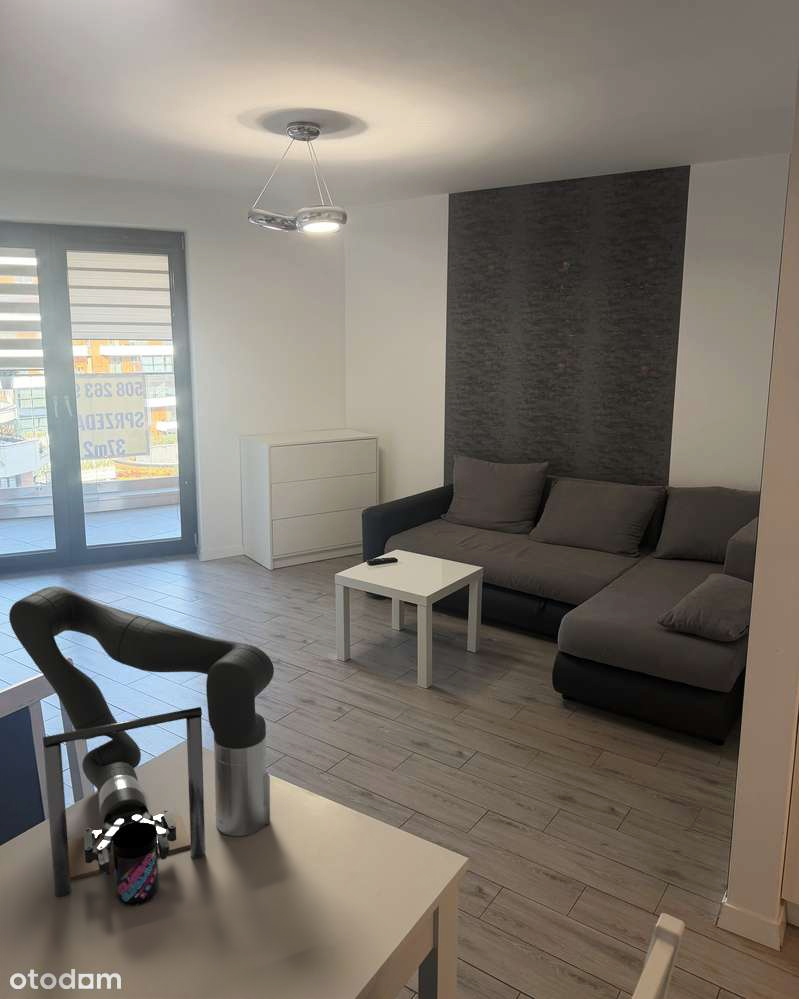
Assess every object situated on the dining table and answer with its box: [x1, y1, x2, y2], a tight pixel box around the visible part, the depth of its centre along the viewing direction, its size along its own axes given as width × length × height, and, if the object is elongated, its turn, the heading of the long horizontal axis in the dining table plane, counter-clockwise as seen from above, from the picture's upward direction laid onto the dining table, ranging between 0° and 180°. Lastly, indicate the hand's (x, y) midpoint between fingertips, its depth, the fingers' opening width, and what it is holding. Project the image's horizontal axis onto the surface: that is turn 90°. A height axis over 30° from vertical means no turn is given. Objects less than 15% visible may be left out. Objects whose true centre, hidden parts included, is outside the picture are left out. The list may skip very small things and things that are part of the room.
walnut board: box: [68, 812, 191, 881], centre depth 132 cm, size 20×10×1 cm, turn 117°
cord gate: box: [42, 706, 206, 899], centre depth 122 cm, size 24×2×27 cm, turn 117°
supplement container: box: [112, 822, 160, 907], centre depth 120 cm, size 7×7×10 cm
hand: (136, 861), depth 119 cm, fingers open, 8 cm apart
